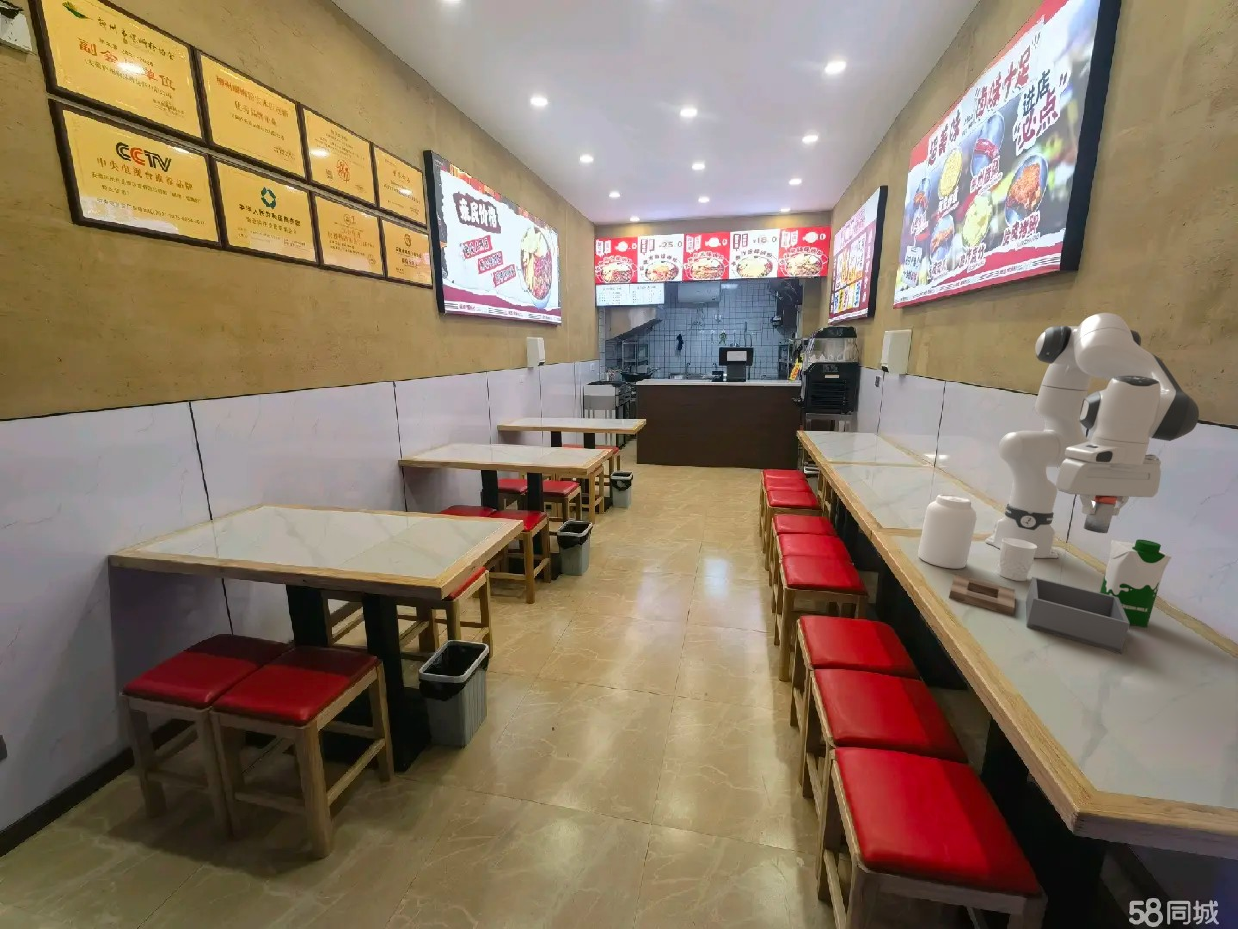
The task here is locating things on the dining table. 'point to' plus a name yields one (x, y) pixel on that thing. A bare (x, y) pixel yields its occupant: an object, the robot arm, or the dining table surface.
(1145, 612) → the milk carton
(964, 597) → the socket block
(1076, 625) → the bin
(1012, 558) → the white cup
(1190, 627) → the dining table surface
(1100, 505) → the red and grey cylinder
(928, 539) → the can
